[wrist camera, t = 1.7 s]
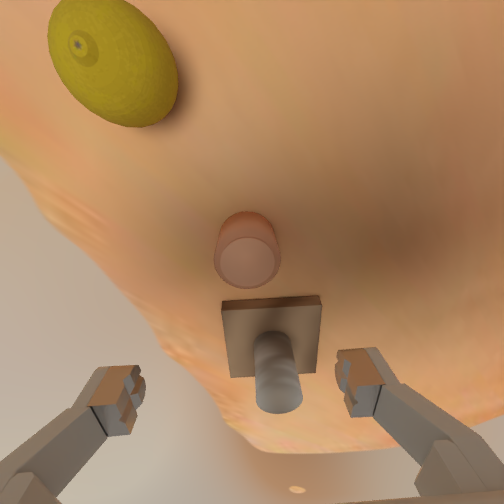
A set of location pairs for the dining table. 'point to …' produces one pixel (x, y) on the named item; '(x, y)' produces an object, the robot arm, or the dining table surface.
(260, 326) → the stud base
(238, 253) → the cap
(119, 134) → the dining table surface
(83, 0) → the lemon
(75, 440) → the robot arm
